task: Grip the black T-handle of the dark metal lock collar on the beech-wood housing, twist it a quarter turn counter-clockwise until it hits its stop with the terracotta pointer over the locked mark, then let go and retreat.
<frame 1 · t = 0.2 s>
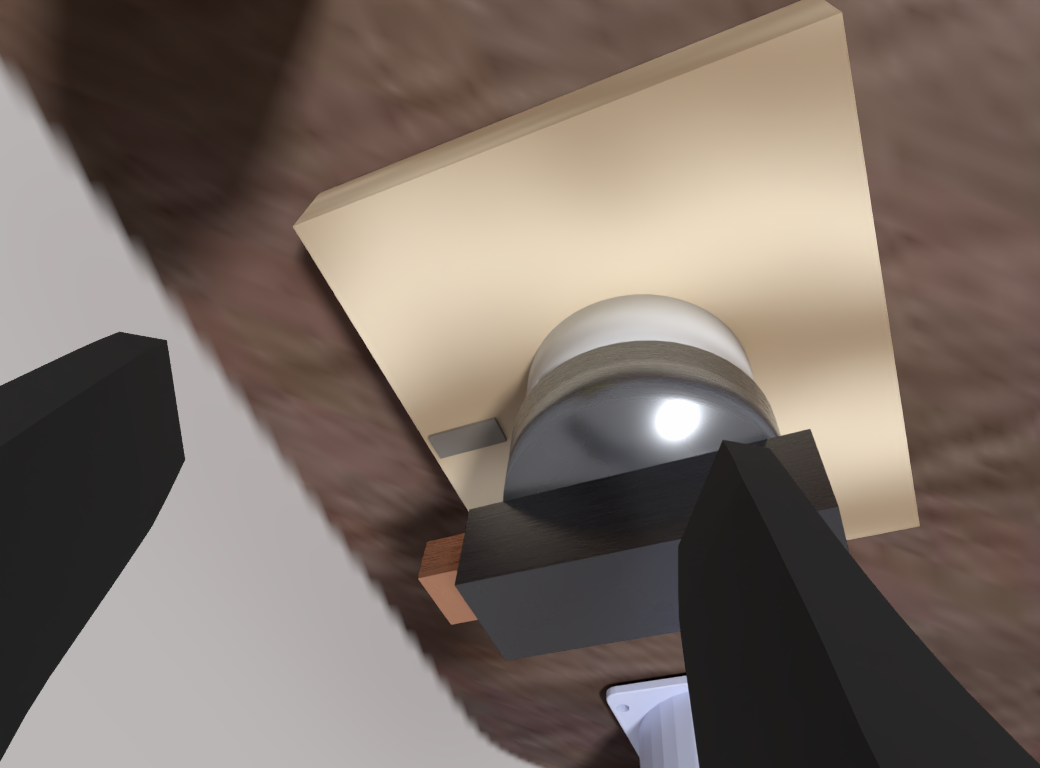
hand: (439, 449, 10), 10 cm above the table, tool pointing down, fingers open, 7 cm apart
lock collar: (618, 520, 15), point 6 cm above the table, hinge at 0.0°
lock housing: (634, 348, 20), on the table
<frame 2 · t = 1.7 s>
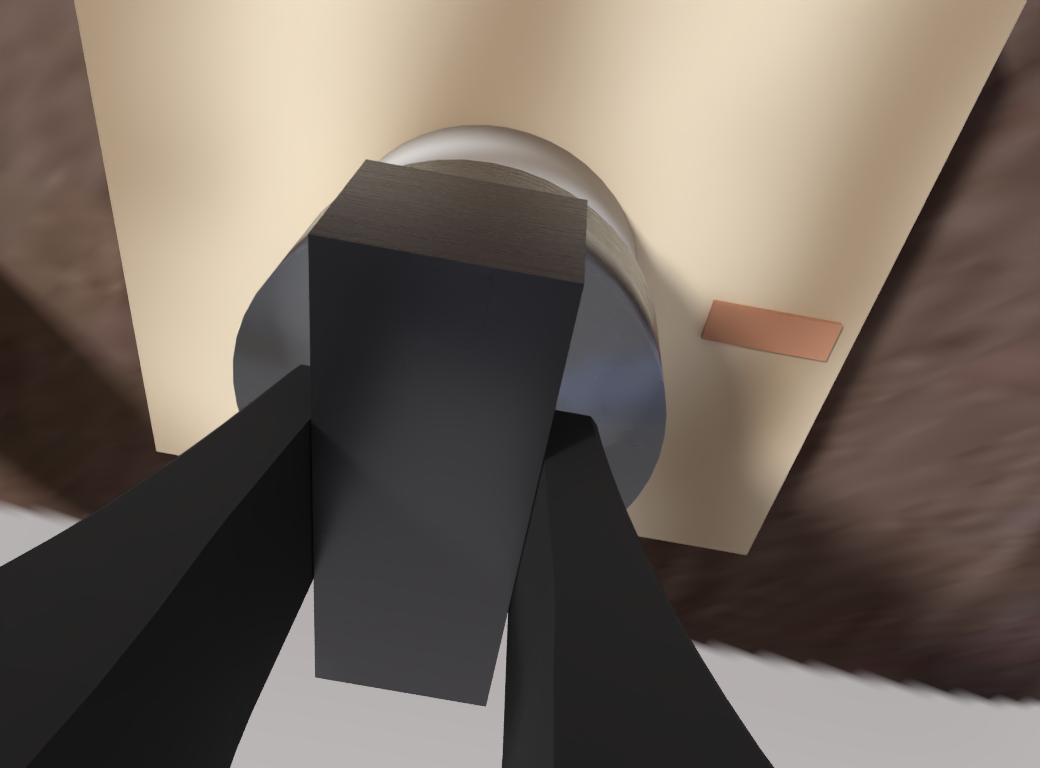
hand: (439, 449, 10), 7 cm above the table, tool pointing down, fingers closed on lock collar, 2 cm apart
lock collar: (443, 452, 11), point 6 cm above the table, hinge at 0.0°, touching gripper
lock housing: (498, 233, 15), on the table
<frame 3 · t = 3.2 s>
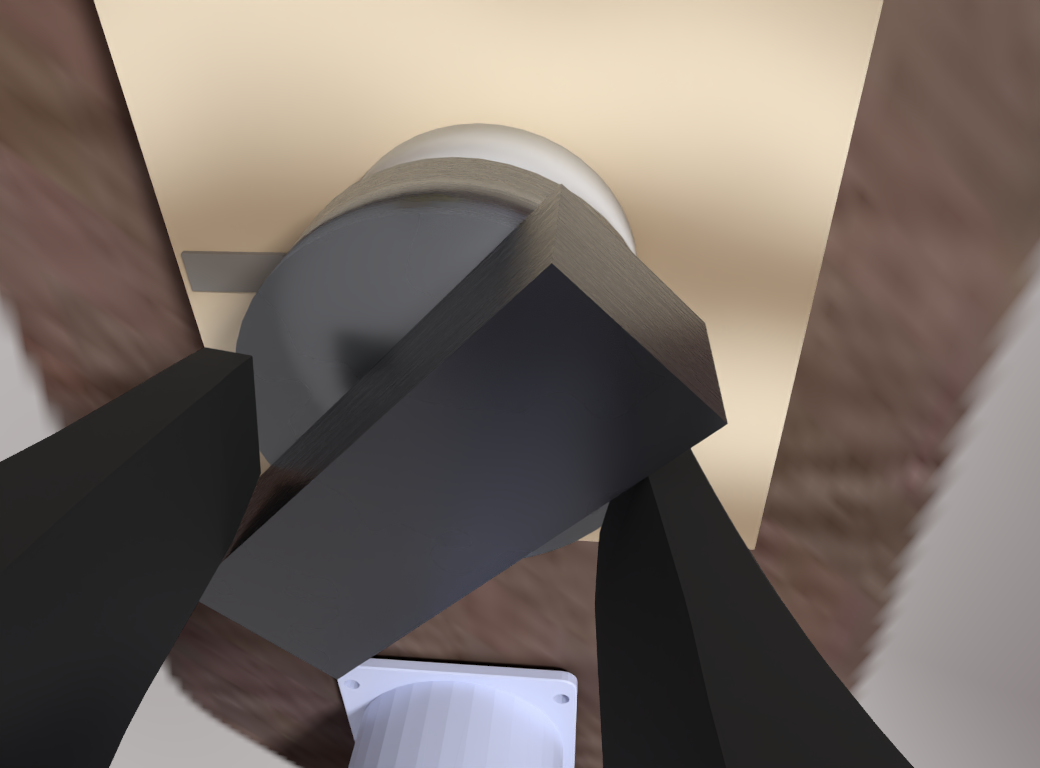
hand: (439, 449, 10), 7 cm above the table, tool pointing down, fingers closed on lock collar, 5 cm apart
lock collar: (421, 439, 11), point 6 cm above the table, hinge at 45.7°, touching gripper
lock housing: (498, 231, 15), on the table
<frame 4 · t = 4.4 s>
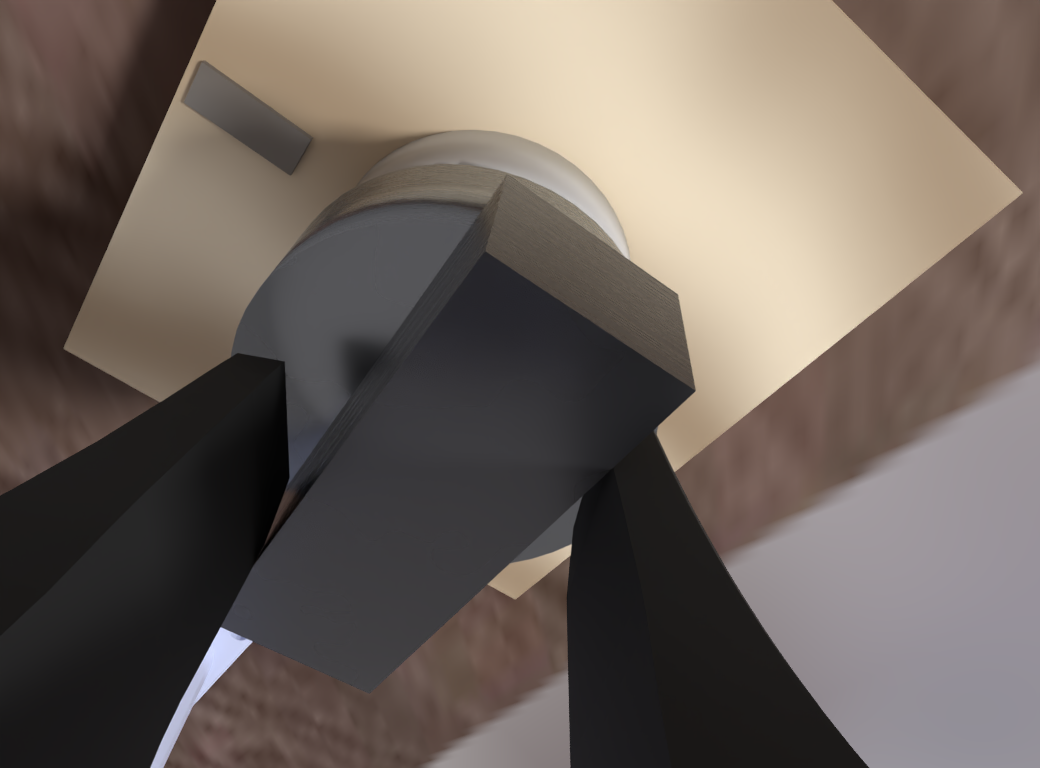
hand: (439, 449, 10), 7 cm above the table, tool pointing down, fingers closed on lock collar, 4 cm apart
lock collar: (420, 447, 11), point 6 cm above the table, hinge at 92.2°, touching gripper
lock housing: (493, 236, 16), on the table
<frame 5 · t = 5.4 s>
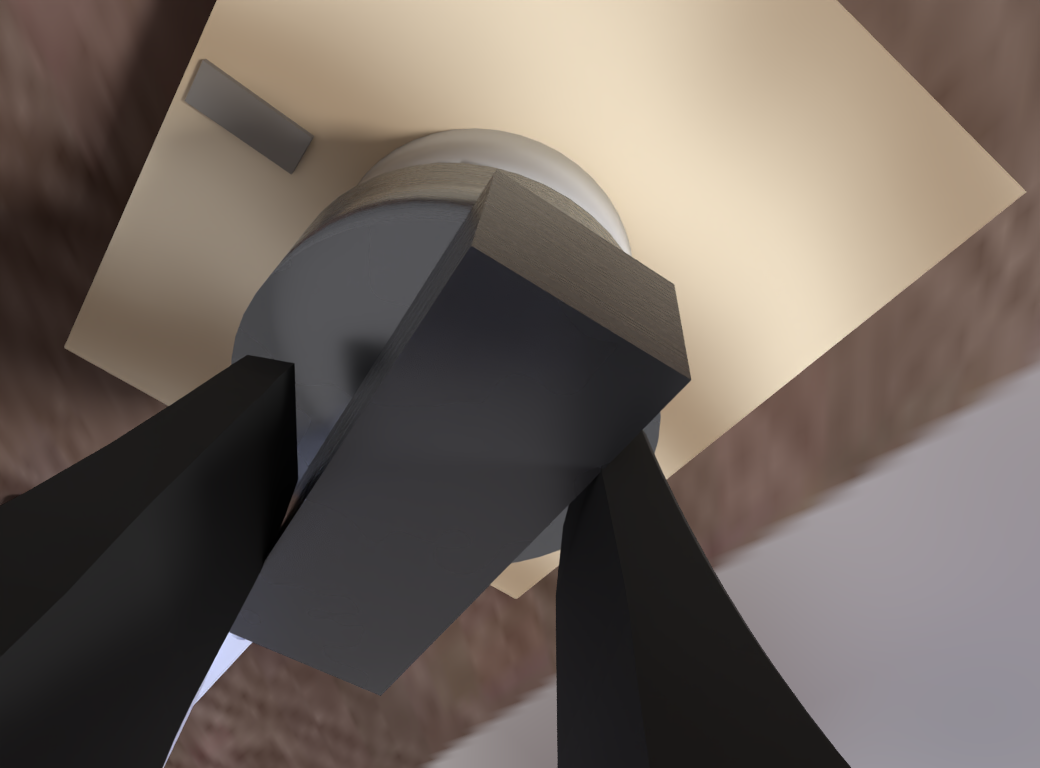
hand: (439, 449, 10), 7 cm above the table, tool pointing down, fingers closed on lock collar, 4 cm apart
lock collar: (423, 448, 11), point 6 cm above the table, hinge at 94.5°, touching gripper
lock housing: (494, 235, 15), on the table
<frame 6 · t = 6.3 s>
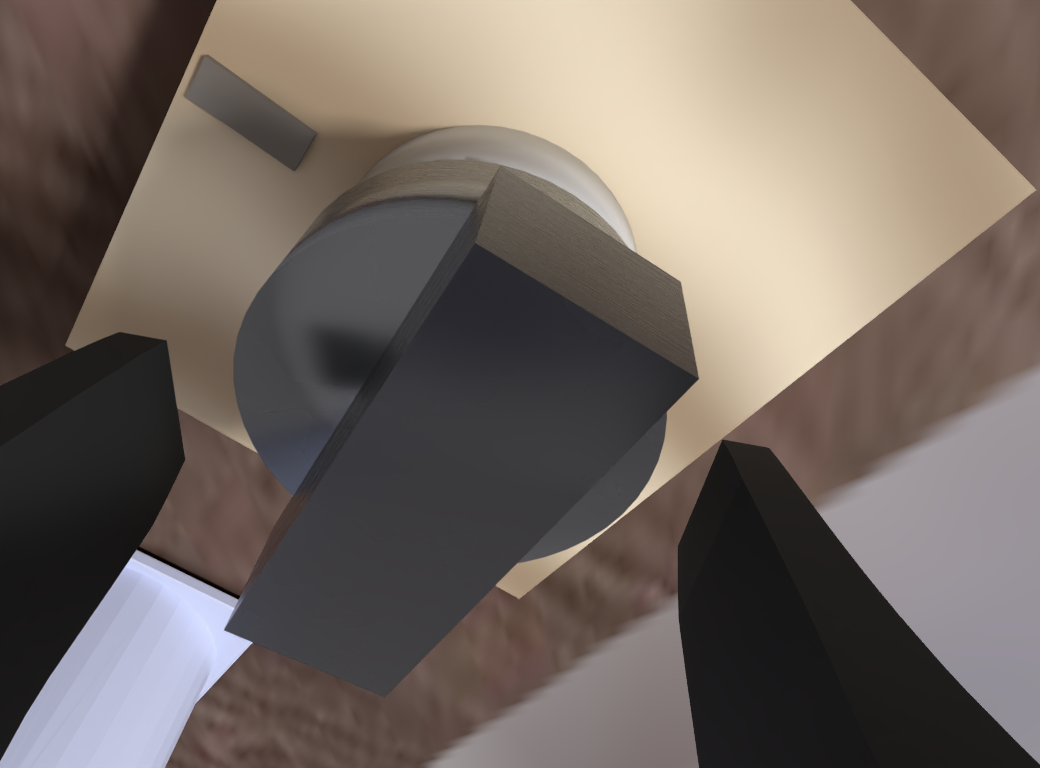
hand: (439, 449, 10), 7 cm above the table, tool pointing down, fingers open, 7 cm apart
lock collar: (427, 447, 11), point 6 cm above the table, hinge at 94.8°
lock housing: (498, 233, 15), on the table
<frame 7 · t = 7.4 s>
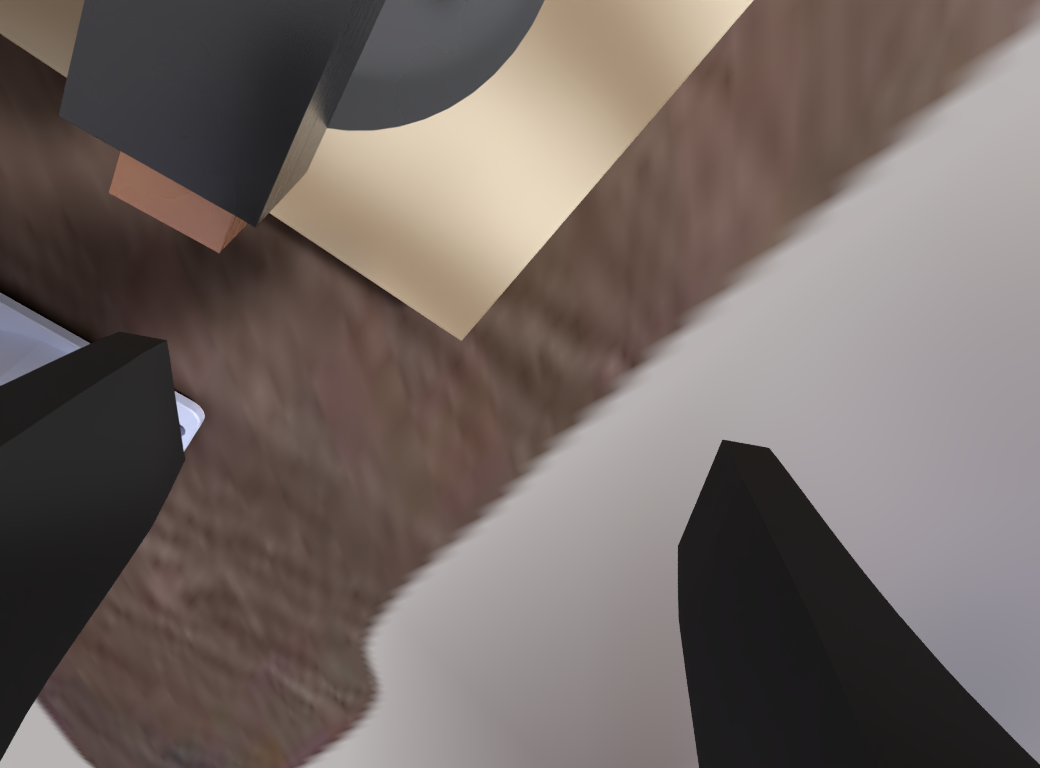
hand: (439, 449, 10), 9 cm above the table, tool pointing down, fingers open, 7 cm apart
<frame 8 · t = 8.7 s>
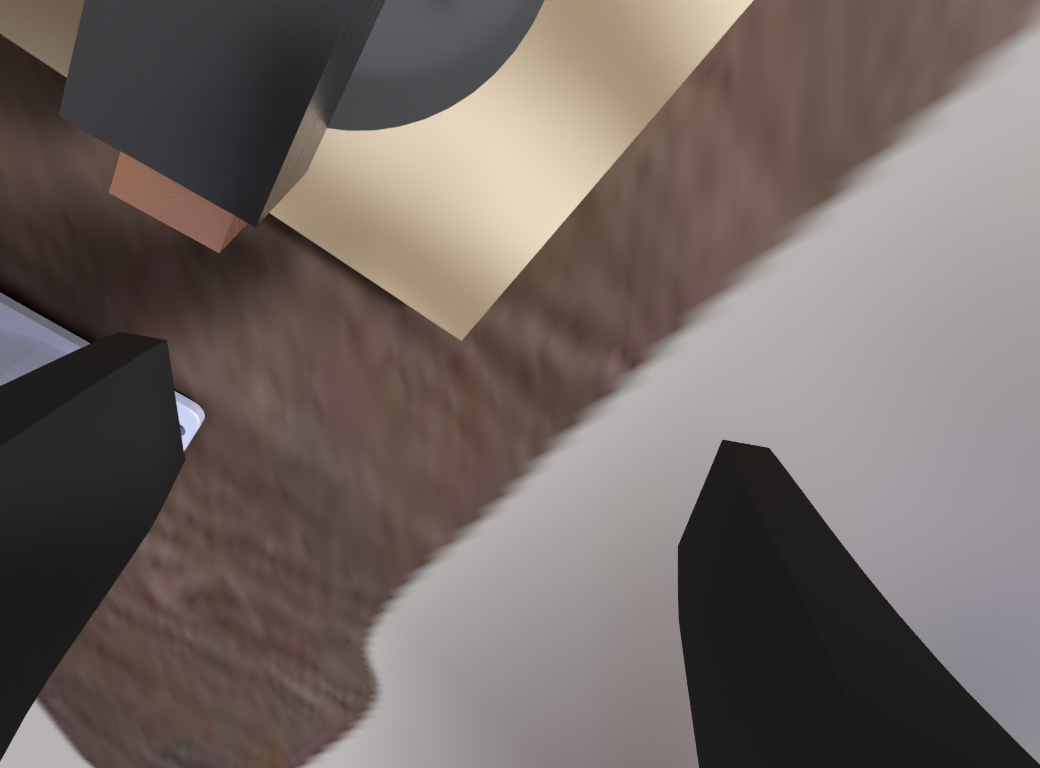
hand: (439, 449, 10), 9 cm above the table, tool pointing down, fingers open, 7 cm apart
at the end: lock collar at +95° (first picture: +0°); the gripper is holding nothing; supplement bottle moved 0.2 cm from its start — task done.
